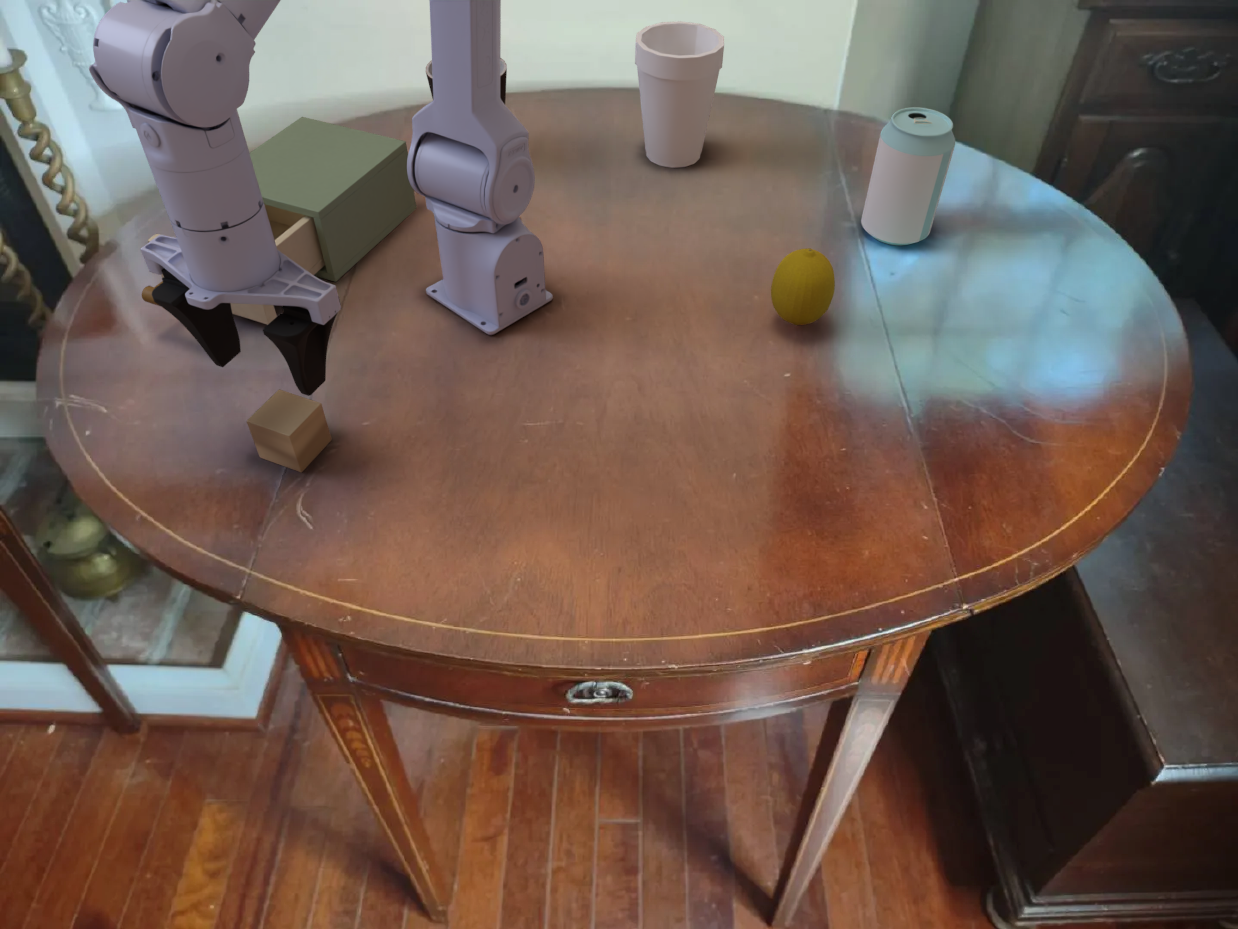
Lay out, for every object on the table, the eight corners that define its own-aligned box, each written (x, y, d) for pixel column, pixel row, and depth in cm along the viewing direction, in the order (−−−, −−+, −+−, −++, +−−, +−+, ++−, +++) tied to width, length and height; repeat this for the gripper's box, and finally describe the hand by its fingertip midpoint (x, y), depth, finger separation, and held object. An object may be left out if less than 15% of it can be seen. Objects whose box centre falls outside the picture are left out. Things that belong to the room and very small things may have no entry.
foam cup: (622, 166, 107) (624, 50, 97) (644, 129, 113) (648, 16, 103) (704, 179, 105) (714, 62, 95) (722, 141, 111) (733, 28, 101)
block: (332, 439, 76) (321, 402, 73) (301, 473, 73) (289, 436, 70) (291, 425, 77) (279, 388, 74) (259, 457, 74) (245, 420, 71)
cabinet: (335, 282, 91) (318, 211, 85) (229, 251, 94) (206, 181, 88) (416, 208, 100) (406, 140, 94) (317, 182, 103) (301, 116, 98)
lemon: (779, 347, 85) (792, 272, 79) (757, 310, 88) (768, 236, 82) (836, 337, 86) (853, 263, 80) (811, 302, 89) (826, 228, 84)
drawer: (236, 354, 81) (216, 299, 77) (133, 321, 84) (108, 266, 80) (356, 248, 93) (344, 195, 89) (261, 221, 96) (246, 169, 92)
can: (845, 227, 98) (869, 116, 90) (889, 205, 102) (916, 96, 93) (898, 257, 95) (928, 145, 86) (942, 233, 98) (975, 123, 89)
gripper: (79, 212, 59) (153, 378, 69) (270, 268, 55) (320, 435, 65) (159, 161, 63) (218, 323, 73) (341, 209, 59) (377, 374, 69)
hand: (270, 372), depth 69 cm, fingers open, 7 cm apart
